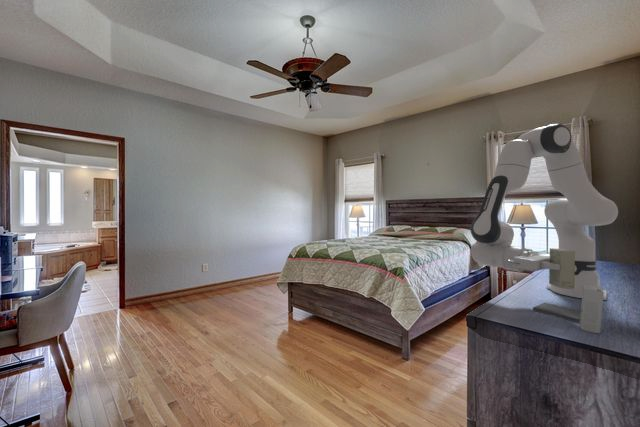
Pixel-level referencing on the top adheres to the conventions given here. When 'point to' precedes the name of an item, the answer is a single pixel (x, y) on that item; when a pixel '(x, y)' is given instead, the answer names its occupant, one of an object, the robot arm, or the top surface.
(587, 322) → the skincare box
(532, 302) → the top surface
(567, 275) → the skincare box
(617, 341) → the top surface
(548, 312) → the charcoal mat
